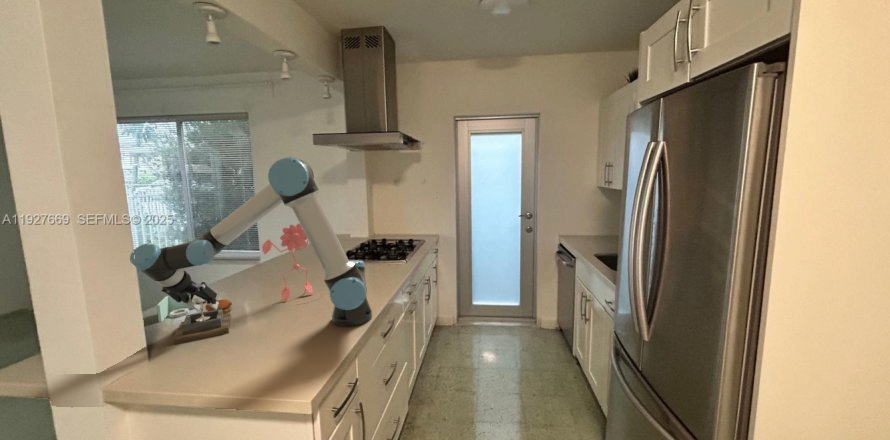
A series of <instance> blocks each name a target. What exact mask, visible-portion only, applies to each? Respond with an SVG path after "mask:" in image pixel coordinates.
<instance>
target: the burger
mask: <svg viewBox="0 0 890 440" xmlns="http://www.w3.org/2000/svg"><path fill="white" fill-rule="evenodd" d="M216 300H217V299H216ZM217 302H219V304H218V307H217V310H218V309H222V310H223V314H227V313H231V311H232V304H233V303H232V301H231V300H229V299H218V300H217ZM204 307H205V310H206V311H213V310H215V309H213V308H212V307H211V306H210V305H208V304H207V303H206V305H205V306H204Z"/></svg>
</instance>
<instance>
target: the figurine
mask: <svg viewBox="0 0 890 440" xmlns="http://www.w3.org/2000/svg"><path fill="white" fill-rule="evenodd" d="M282 232H283V234H282V235H281V236H280V238H279V239H280V240H281V244H280V246H281V247H283V248H284V247H286V246H287V248H286V249H283V250H281V249H280V248H278V247H277V246H276V245H275V244H274V243H273V242H272V241H271V240H270V239H267V240H265V242H263V244H262V247H261V248H262V252H263V254H264V255H266V254H268V253H269V251H271V249H272V246H273V247H274V248H275V249H276V250H277V251H279V252H280V253H283V252H286V251H287V250H288V252H292V258H293V259H294V262H295V264H294V265H293V268H292V269H290V270H288V271H286V272H284V273H283V274H282V276H283V280H284V282H283V283H284V287H283V288H282V290H281V298H282V300H283V301H284V302H287V301H288V300H289V298H290V296H291V289H290V287H289V286H288V285H287V284H286V277H285V274H287V273H289V272H291V271H293V270H295V271H298V270H300V269H303V270H305V278H306V279H305V282H304V284H303V286H304V294H306V293H309V294H310V295H313V294H314V290H313V287H312V284H310V283H309V282H308V271H307V270H308V269H307V268H305V267H301V266H300V264H298V263H297V260H296V257H295V251H300V250H301V248H306V247H307V246H308V244H309V240H308V238H307V236H306V234H305V232H304V230H303V228H302V227H301V225H300V223H299V222H298V223H297V224H296V225H295V224H290V225H289V227H283V228H282ZM321 298H322V296H320V297H318V298H316V299H315V300H312V301H310V302H307V304H309V303H312V302H315V301H317V300H320V299H321ZM304 304H306V302H305V303H304V302H303V305H304ZM299 305H301V303H299V304H297V306H299Z"/></svg>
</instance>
